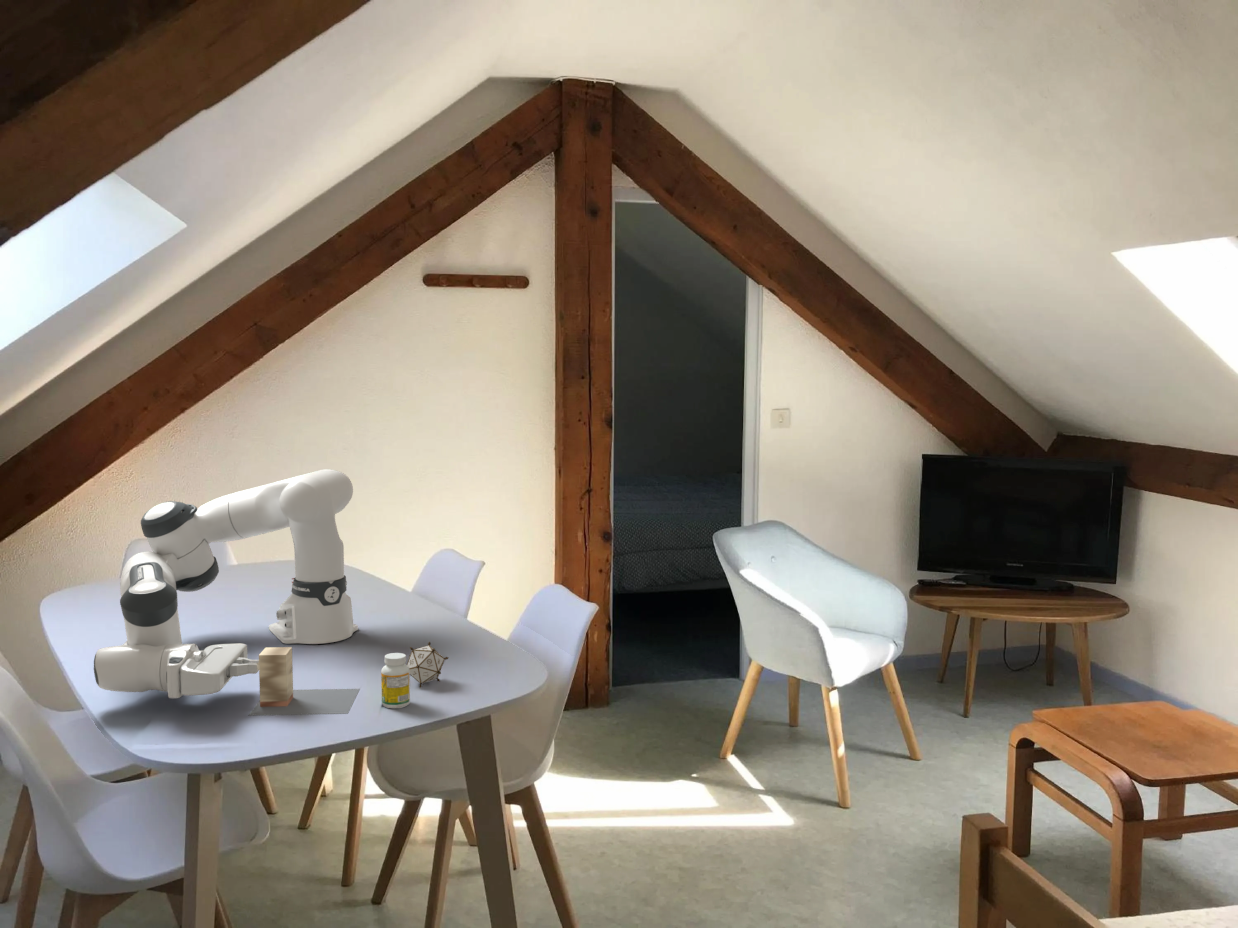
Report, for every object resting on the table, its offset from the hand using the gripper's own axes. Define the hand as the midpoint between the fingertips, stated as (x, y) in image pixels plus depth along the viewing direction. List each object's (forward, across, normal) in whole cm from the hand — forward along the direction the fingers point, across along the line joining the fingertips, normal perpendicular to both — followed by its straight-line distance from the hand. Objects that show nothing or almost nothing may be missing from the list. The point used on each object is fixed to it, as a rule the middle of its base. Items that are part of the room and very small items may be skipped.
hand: (259, 666), depth 198 cm
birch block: (+3, 0, -7) cm, 8 cm away
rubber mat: (+8, 0, -8) cm, 11 cm away
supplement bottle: (+26, 0, -8) cm, 27 cm away
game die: (+30, -12, -8) cm, 33 cm away
